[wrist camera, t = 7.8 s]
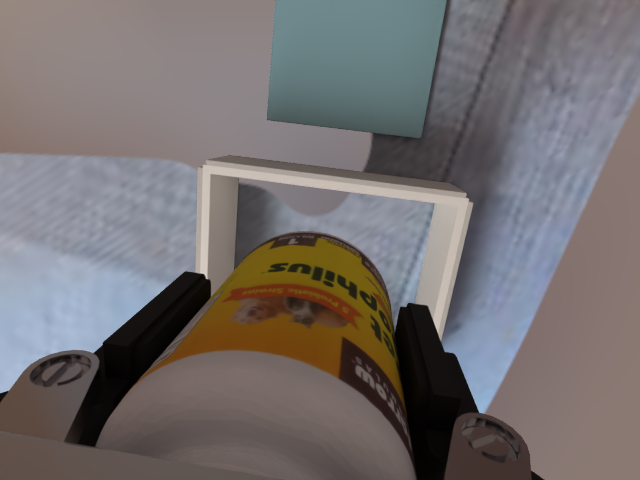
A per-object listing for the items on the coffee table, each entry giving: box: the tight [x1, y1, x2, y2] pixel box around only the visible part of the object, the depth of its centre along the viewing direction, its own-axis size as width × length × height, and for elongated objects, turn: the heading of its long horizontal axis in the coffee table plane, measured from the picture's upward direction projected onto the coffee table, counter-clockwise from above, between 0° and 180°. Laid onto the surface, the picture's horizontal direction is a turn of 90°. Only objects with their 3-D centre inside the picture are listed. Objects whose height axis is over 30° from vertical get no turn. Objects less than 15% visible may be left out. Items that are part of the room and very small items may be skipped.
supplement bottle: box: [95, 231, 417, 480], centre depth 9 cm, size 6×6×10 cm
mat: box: [267, 0, 447, 138], centre depth 26 cm, size 11×11×1 cm
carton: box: [196, 155, 473, 341], centre depth 28 cm, size 17×17×6 cm
